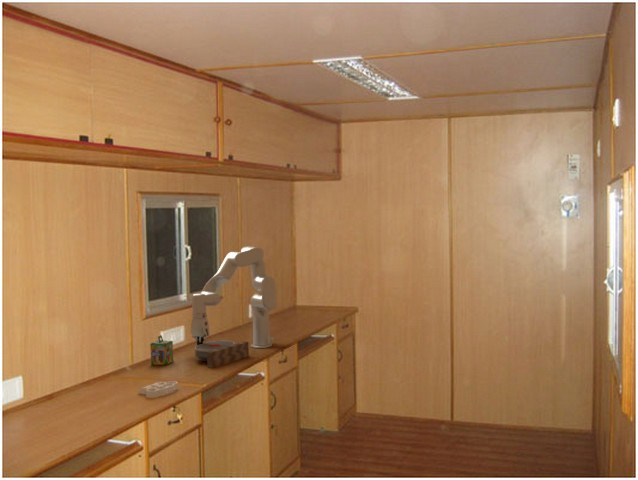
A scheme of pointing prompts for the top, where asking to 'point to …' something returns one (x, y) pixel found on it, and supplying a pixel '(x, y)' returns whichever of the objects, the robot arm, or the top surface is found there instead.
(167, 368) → the top surface
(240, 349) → the walnut board
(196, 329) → the robot arm
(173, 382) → the white muffin tray
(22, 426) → the top surface
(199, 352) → the first aid kit
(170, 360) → the chalk box
